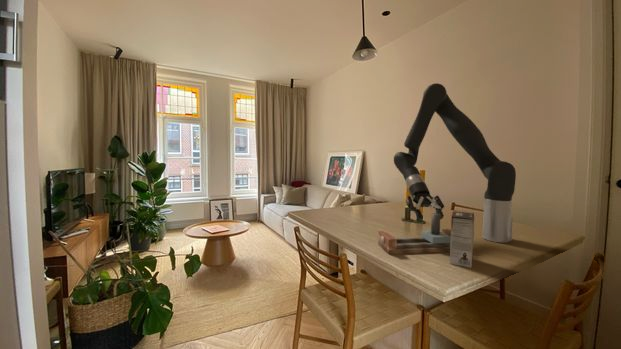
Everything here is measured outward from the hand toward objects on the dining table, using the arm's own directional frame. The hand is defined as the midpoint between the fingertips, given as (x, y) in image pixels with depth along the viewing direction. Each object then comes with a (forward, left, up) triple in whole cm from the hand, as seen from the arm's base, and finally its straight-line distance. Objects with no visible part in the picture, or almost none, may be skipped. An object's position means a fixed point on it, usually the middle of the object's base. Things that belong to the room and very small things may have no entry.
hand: (431, 218), depth 98 cm
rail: (+6, +3, -11) cm, 13 cm away
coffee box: (-1, +16, -11) cm, 19 cm away
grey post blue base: (0, +3, -8) cm, 8 cm away
